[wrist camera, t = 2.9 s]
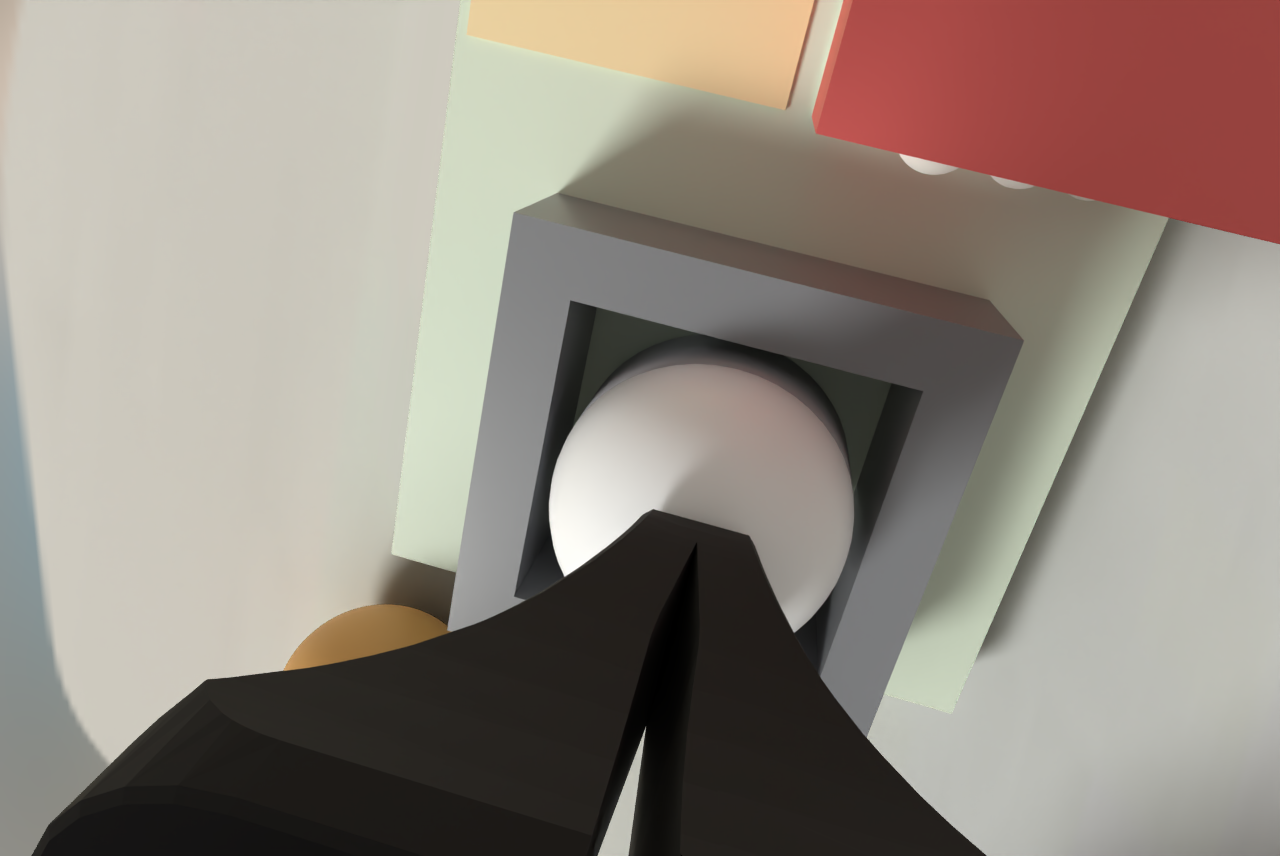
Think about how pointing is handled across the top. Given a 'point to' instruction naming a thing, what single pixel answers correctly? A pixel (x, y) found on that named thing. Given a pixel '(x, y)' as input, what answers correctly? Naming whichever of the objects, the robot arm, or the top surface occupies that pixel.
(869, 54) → the die
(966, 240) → the board
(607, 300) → the housing
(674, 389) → the white ball
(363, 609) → the figurine
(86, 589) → the top surface
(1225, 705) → the top surface
